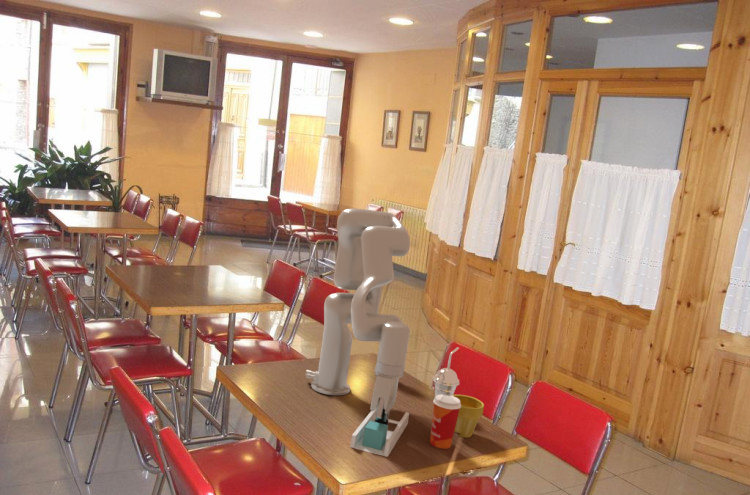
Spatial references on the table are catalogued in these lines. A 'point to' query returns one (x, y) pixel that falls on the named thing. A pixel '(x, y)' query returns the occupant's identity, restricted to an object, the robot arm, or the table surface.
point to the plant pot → (468, 415)
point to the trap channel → (390, 438)
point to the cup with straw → (446, 379)
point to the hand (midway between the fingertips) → (379, 433)
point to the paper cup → (444, 420)
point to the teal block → (375, 435)
